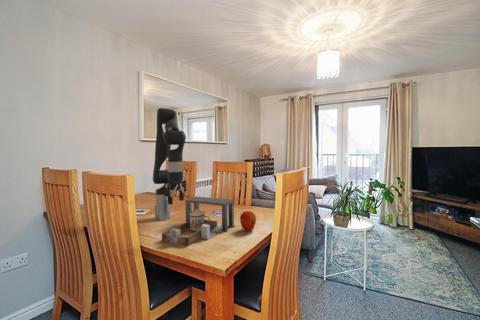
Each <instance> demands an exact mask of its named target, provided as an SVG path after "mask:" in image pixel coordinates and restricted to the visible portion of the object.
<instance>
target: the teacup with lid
mask: <svg viewBox="0 0 480 320" xmlns="http://www.w3.org/2000/svg"><path fill="white" fill-rule="evenodd" d="M189 216H190V228H189V230H191V231H192V232H197V231H199V230H200V229H201V225H203V224H208V223H209V221H210V220H211V219H210V216H208V215H206V214H205V212H203V211H201V210H200V208H199V209H195V211H194V210H193V211H191V213H190V214H189ZM205 218H207V220H208V222H207V223H204V219H205Z"/></svg>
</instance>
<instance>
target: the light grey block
mask: <svg viewBox="0 0 480 320" xmlns="http://www.w3.org/2000/svg"><path fill="white" fill-rule="evenodd" d="M215 235H216V233H213V232H210V225H207V224H203V225H201V237H200V239H199V240H204V241H205V240H206V241H208V240H210V239H211V238H213V237H214V236H215Z"/></svg>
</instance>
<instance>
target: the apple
mask: <svg viewBox="0 0 480 320" xmlns="http://www.w3.org/2000/svg"><path fill="white" fill-rule="evenodd" d="M239 220H240V225H241V228H242V230H244V232H251V231H252V230H253V229H255V225H256V223H257V216H256V213H254V212H253V211H250V210H246V211H243V212H242V213H241V214H240V217H239Z"/></svg>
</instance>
